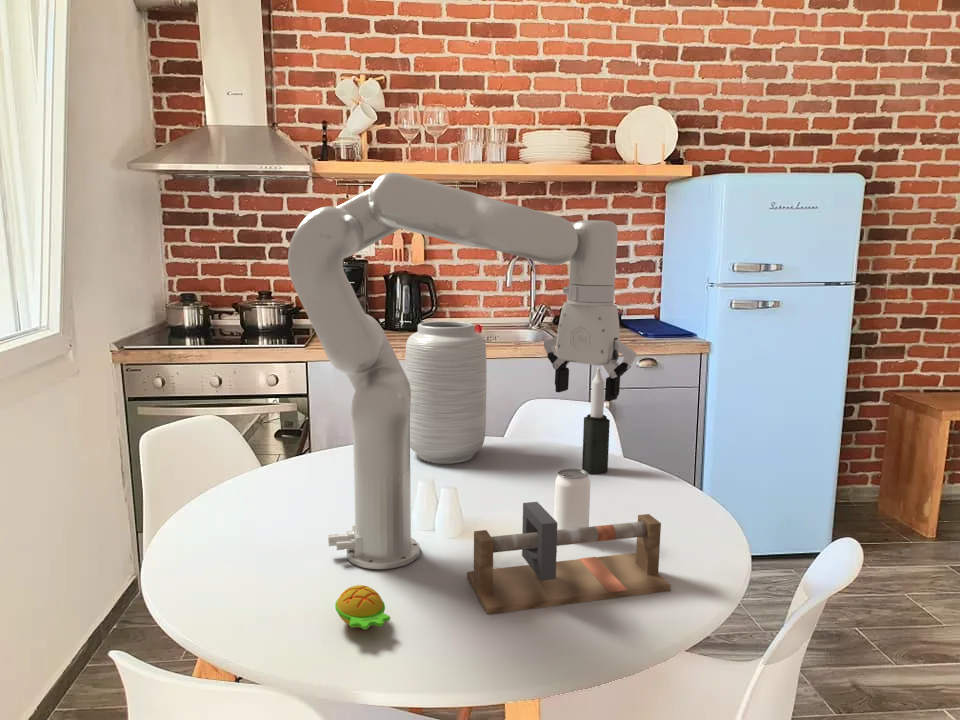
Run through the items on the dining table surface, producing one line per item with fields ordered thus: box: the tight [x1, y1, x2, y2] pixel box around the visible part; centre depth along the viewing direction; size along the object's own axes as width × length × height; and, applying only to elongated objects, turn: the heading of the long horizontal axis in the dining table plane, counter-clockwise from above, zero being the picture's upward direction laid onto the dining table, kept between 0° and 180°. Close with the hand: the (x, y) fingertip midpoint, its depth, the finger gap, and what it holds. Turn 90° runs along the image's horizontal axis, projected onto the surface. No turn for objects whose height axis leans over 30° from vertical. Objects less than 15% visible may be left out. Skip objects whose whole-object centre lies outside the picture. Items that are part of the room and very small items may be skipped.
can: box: [553, 468, 591, 530], centre depth 133 cm, size 6×6×12 cm
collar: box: [521, 501, 558, 581], centre depth 113 cm, size 2×9×9 cm, turn 15°
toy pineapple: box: [334, 584, 391, 630], centre depth 101 cm, size 7×10×5 cm
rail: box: [466, 513, 672, 615], centre depth 114 cm, size 30×12×10 cm, turn 105°
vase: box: [404, 320, 487, 465], centre depth 180 cm, size 20×20×34 cm
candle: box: [581, 367, 611, 475], centre depth 170 cm, size 5×5×25 cm
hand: (585, 395), depth 123 cm, fingers open, 9 cm apart
